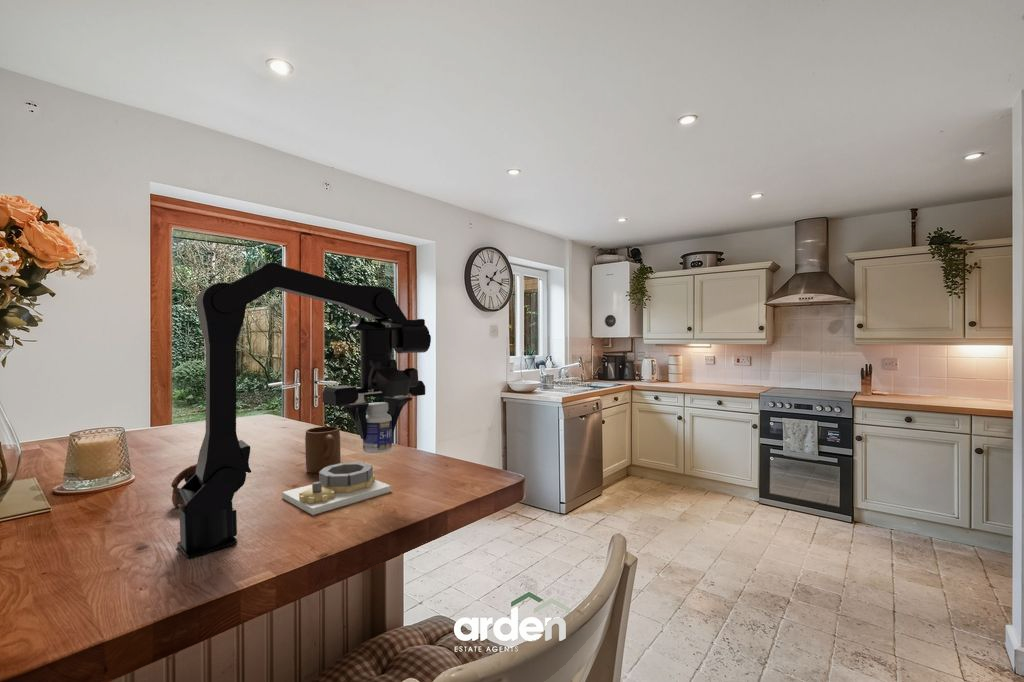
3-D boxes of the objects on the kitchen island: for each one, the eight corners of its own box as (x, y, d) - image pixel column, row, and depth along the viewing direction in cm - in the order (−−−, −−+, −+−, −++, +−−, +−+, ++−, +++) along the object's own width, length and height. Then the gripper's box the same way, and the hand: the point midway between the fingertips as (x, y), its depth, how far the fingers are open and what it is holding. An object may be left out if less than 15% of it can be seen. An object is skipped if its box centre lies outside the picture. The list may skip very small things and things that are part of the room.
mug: (350, 474, 107) (349, 433, 107) (315, 481, 103) (314, 438, 103) (335, 462, 117) (334, 424, 117) (302, 468, 113) (301, 428, 113)
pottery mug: (245, 499, 94) (229, 469, 90) (196, 534, 88) (176, 504, 84) (217, 474, 101) (200, 445, 96) (169, 505, 94) (149, 476, 90)
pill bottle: (383, 454, 87) (383, 406, 87) (357, 453, 88) (357, 405, 88) (396, 447, 92) (396, 402, 92) (372, 446, 93) (371, 401, 93)
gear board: (311, 515, 84) (311, 490, 84) (281, 498, 93) (281, 475, 93) (390, 491, 96) (390, 469, 96) (357, 478, 104) (357, 458, 104)
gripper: (351, 358, 78) (352, 453, 78) (442, 353, 91) (443, 435, 91) (320, 355, 85) (321, 442, 86) (408, 352, 99) (409, 427, 99)
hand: (377, 436), depth 90 cm, fingers closed on pill bottle, 5 cm apart
